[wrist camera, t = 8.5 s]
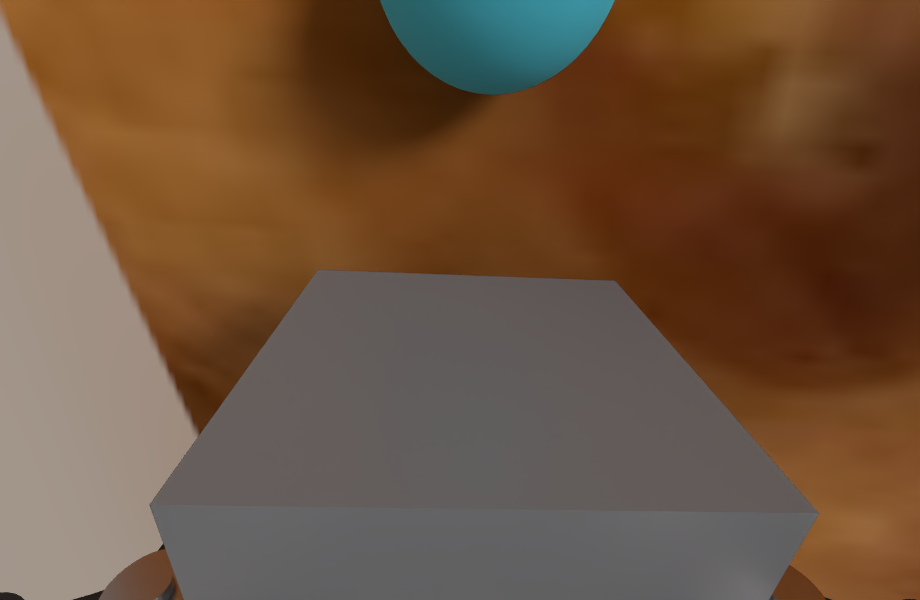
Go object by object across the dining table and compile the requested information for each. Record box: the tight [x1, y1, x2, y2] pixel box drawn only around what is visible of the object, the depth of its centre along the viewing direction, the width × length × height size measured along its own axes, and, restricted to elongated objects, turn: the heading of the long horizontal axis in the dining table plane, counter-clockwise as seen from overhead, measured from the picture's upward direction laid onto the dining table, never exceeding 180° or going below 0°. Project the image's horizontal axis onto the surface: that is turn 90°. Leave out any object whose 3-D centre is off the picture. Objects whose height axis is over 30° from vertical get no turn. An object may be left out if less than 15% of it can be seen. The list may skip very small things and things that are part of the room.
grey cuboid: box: [150, 270, 819, 600], centre depth 9 cm, size 7×7×6 cm
